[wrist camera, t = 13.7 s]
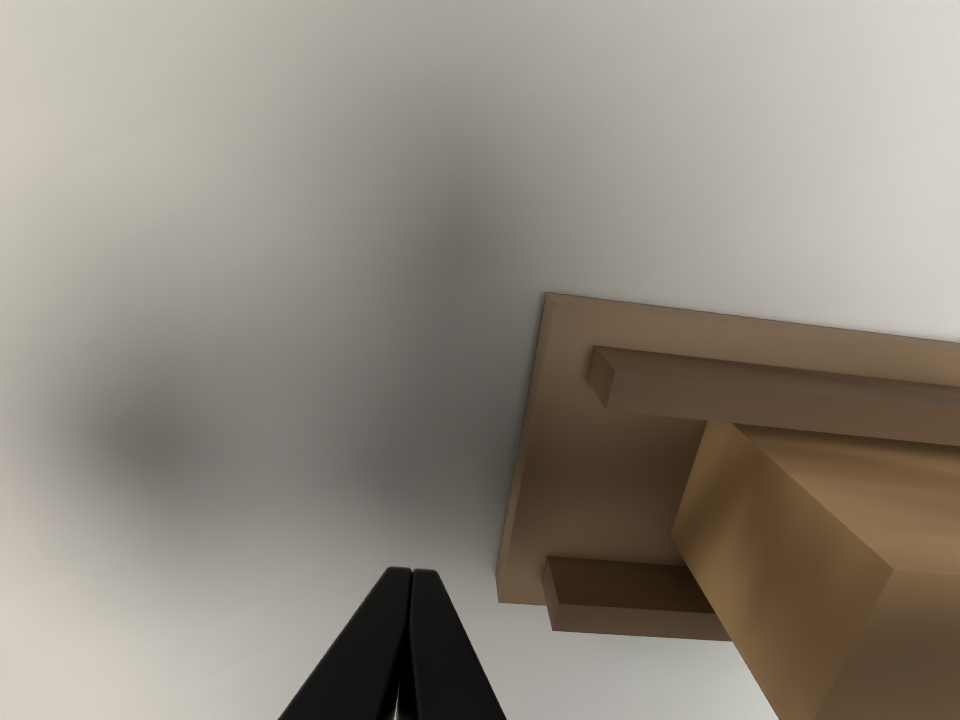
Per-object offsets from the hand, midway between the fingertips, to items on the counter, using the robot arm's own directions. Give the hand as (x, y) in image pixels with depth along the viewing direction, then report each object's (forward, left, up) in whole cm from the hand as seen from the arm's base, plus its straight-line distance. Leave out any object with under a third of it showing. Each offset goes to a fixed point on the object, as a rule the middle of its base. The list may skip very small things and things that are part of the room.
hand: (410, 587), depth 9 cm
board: (+1, -12, -4) cm, 13 cm away
